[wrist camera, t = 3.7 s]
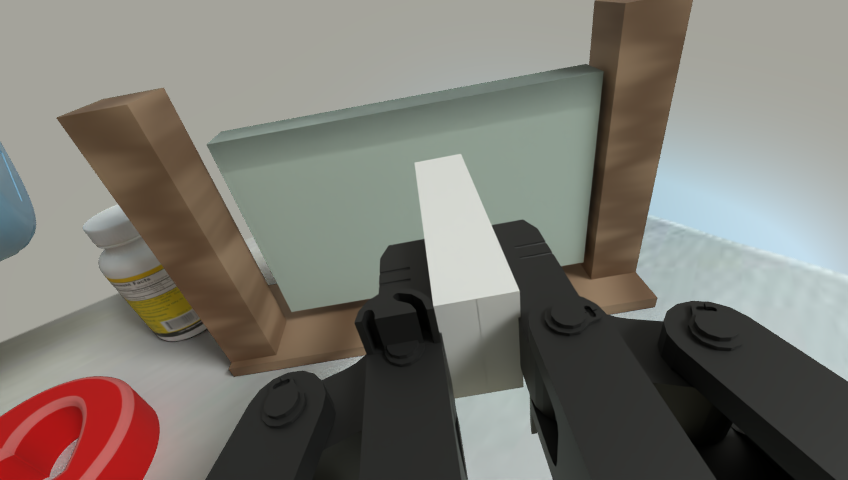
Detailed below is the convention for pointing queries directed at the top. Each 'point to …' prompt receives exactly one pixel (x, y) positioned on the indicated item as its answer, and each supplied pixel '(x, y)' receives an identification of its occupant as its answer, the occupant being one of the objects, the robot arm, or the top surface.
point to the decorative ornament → (80, 432)
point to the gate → (411, 175)
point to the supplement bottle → (141, 276)
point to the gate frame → (334, 325)
